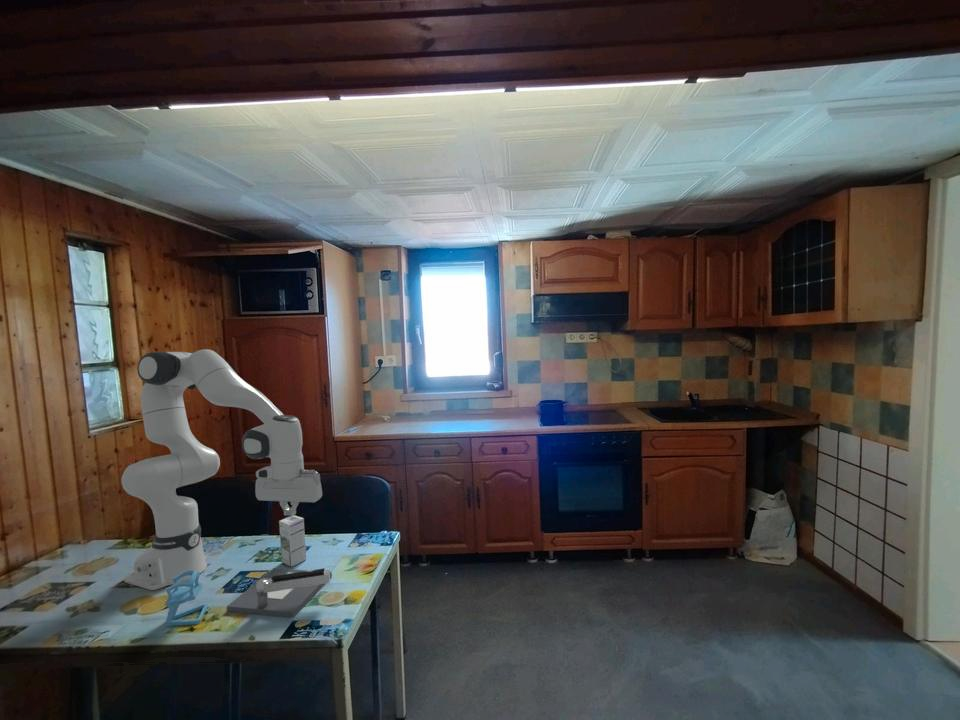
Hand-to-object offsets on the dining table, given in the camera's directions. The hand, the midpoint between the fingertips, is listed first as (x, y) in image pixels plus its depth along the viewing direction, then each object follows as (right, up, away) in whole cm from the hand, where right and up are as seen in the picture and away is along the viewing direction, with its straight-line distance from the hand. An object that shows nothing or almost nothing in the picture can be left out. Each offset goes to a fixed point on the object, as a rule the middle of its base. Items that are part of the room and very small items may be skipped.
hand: (290, 514), depth 121 cm
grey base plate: (0, -21, -4) cm, 22 cm away
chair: (-21, -23, -14) cm, 34 cm away
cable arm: (+6, -16, -10) cm, 20 cm away
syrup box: (-5, -21, +13) cm, 26 cm away
